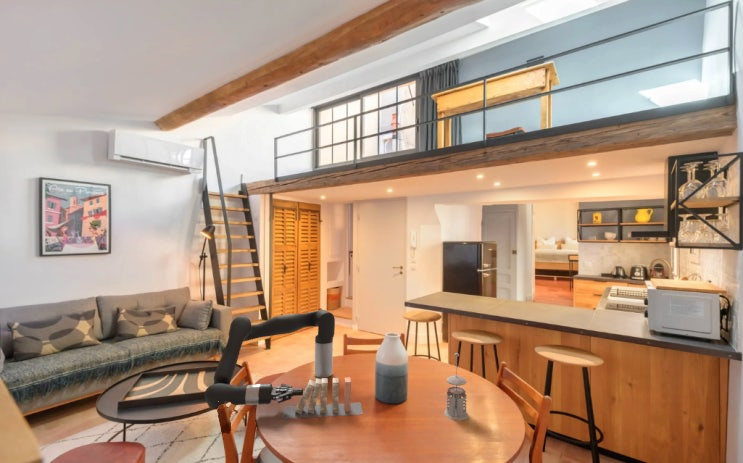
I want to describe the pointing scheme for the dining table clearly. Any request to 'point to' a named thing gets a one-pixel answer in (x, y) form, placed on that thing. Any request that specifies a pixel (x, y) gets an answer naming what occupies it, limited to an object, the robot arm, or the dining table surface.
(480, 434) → the dining table surface
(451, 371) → the dining table surface
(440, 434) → the dining table surface
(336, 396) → the domino
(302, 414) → the domino board
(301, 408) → the domino
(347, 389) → the end domino
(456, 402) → the french press
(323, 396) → the domino
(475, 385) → the dining table surface
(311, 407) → the domino
